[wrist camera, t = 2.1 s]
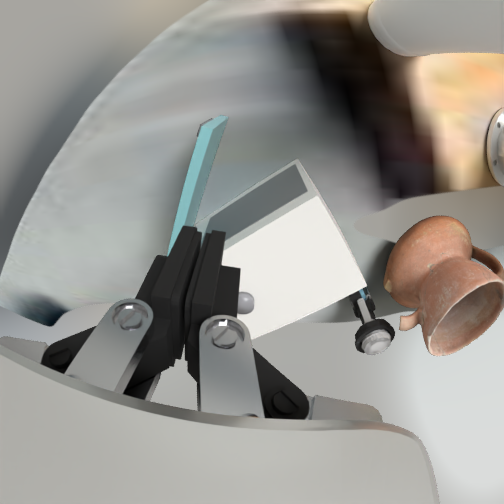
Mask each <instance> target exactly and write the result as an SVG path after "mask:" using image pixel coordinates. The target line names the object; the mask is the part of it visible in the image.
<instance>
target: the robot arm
mask: <svg viewBox="0 0 504 504" xmlns="http://www.w3.org/2000/svg"><path fill="white" fill-rule="evenodd" d="M487 159H488V165H489V169H490V172H491V174H492V176H493V178H494V179H495V181H496V182H497V183H499V184H500V185H502V186H503V187H504V107H503V108H502V109H500V110H499V111H498V112H497V113H496V114H495V116H494V118H493V119H492V122H491V124H490V128H489V131H488V137H487ZM225 237H226V232H223V231H217V230H212V232H211V233H206V234H205V237H204V240H203V243H202V247H201V240H202V232H199V231H197V227H191V226H184V225H183V226H182V228H181V230H180V232H179V234H178V236H177V238H176V241H175V243H174V245H173V247H172V249H171V251H170V253H169V255H168V256H162V255H157V256H156V258H155V260H154V262H153V264H152V266H151V268H150V269H149V271H148V273H147V275H146V277H145V279H144V282H143V284H142V286H141V288H140V290H139V292H138V294H137V296H136V298H135V299H124V300H120V301H118V302H117V303H115V304H114V305H113V306H111V307H110V309H109V310H108V311H107V313H106V314H105V315H104V317H103V318H102V320H101V321H100V322H99V324H98V325H97V326H95V327H92V328H90V329H87V330H85V331H83V332H80V333H78V334H75V335H72V336H70V337H68V338H65V339H62V340H60V341H57V342H55V343H53V344H51V345H50V346H48V345H47V344H46V343H45V342H38V341H31V340H25V339H19V338H13V337H1V338H0V504H440V502H439V495H438V490H437V485H436V479H435V475H434V471H433V468H432V465H431V461H430V459H429V456H428V453H427V451H426V448H425V446H424V445H423V443H422V441H421V440H420V439H419V438H418V437H417V436H416V435H415V434H413V433H412V432H410V431H408V430H406V429H404V428H401V427H398V426H395V425H392V424H388V423H383V421H382V416H381V415H380V413H379V411H378V410H377V409H375V408H374V407H373V406H370V405H366V404H360V403H355V402H348V401H343V400H337V399H332V398H328V397H323V396H318V395H315V396H314V397H310V396H306V395H305V394H304V393H303V392H302V391H301V390H300V389H299V388H298V387H297V386H296V385H294V384H293V383H292V382H291V381H290V380H289V379H287V378H286V377H285V376H284V375H283V374H282V373H280V372H279V371H278V370H277V369H276V368H275V367H274V366H272V365H271V364H270V363H269V362H268V361H267V360H266V359H265V358H263V357H262V356H261V355H260V354H259V353H258V352H257V351H256V350H255V349H254V348H252V343H251V336H250V332H249V329H248V327H247V326H246V325H245V324H244V323H243V322H242V321H240V320H239V319H237V311H238V298H239V286H240V273H241V268H236V267H230V266H223V265H222V258H223V251H224V244H225ZM184 344H185V360H186V361H188V372H189V374H190V375H191V376H192V377H193V378H194V379H195V381H196V382H197V403H198V404H197V406H198V411H195V410H189V409H183V408H178V407H173V406H168V405H163V404H158V403H154V402H150V399H151V397H152V395H153V393H154V390H155V388H156V386H157V384H158V381H159V379H160V375H161V372H162V371H164V370H166V369H168V368H169V366H172V367H174V363H175V359H181V357H182V352H183V348H184Z"/></svg>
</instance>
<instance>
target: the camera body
mask: <svg viewBox="0 0 504 504" xmlns="http://www.w3.org/2000/svg"><path fill="white" fill-rule="evenodd" d="M195 227H197V231H199V232H202V240H201V247H202V243H203V240H204V237H205V234H206V233H211V232H212V230H217V231H223V232H226V237H225V244H224V251H223V258H222V265H223V266H230V267H236V268H241V273H240V286H239V298H238V311H237V319H239V320H240V321H242V322H243V323H244V324H245V325H246V326H247V327H248V329H249V332H250V336H251V340H252V339H255V338H257V337H259V336H262V335H264V334H266V333H269V332H271V331H274V330H276V329H278V328H280V327H283V326H285V325H287V324H290V323H292V322H294V321H297V320H299V319H301V318H303V317H305V316H307V315H310V314H312V313H314V312H316V311H318V310H320V309H322V308H324V307H327V306H329V305H331V304H333V303H335V302H337V301H339V300H341V299H343V298H345V297H347V296H349V295H351V294H353V293H355V292H357V291H359V290H360V289H362V288H364V287H366V286H367V284H366V282H365V280H364V277H363V275H362V273H361V271H360V269H359V266H358V264H357V262H356V260H355V258H354V256H353V254H352V252H351V250H350V248H349V246H348V243H347V241H346V239H345V237H344V235H343V233H342V231H341V230H340V228H339V226H338V224H337V222H336V220H335V219H334V217H333V215H332V213H331V212H330V210H329V208H328V207H327V205H326V203H325V201H324V200H323V198H322V196H321V195H320V193H319V191H318V190H317V188H316V186H315V185H314V183H313V182H312V180H311V178H310V177H309V175H308V174H307V172H306V170H305V169H304V167H303V166H302V164H301V163H300V161H299V160H298V158H297V159H296V160H294V161H292V162H291V163H289V164H287V165H286V166H284V167H282V168H281V169H279V170H278V171H276V172H274V173H273V174H271V175H270V176H268V177H266V178H265V179H263V180H262V181H260V182H258V183H257V184H255V185H254V186H252V187H251V188H249V189H248V190H246V191H244V192H243V193H241V194H240V195H238V196H237V197H235V198H234V199H232V200H231V201H229V202H228V203H226V204H225V205H223V206H222V207H220V208H219V209H217V210H216V211H214V212H213V213H211V214H210V215H208V216H207V217H205V218H204V219H202V220H201V221H200V222H198V223H197V224H196V226H195Z"/></svg>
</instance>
